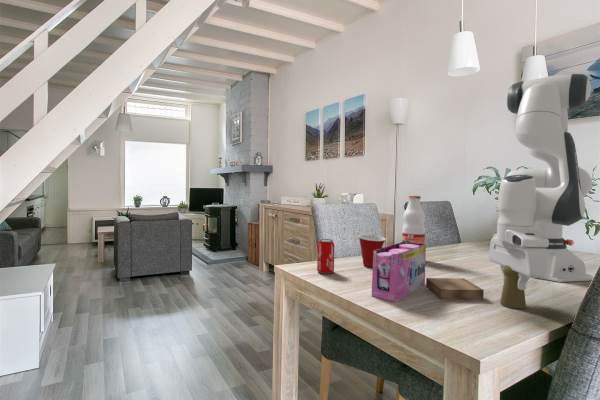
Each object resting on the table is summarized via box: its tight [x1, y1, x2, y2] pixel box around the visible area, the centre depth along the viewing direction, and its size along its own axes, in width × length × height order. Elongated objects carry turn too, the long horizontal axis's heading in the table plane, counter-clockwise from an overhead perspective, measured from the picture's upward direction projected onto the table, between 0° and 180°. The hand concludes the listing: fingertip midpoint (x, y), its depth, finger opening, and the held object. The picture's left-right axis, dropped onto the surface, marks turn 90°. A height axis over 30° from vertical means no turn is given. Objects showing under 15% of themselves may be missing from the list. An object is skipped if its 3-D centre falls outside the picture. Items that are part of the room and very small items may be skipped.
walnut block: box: [425, 277, 484, 301], centre depth 104 cm, size 12×12×3 cm
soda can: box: [316, 238, 335, 275], centre depth 127 cm, size 6×6×12 cm
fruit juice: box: [401, 195, 426, 244], centre depth 149 cm, size 9×9×28 cm
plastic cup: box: [357, 234, 387, 268], centre depth 138 cm, size 11×11×12 cm
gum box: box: [371, 241, 427, 303], centre depth 106 cm, size 24×8×14 cm, turn 140°
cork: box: [499, 265, 527, 310], centre depth 94 cm, size 6×6×11 cm
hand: (513, 285), depth 94 cm, fingers closed on cork, 4 cm apart
